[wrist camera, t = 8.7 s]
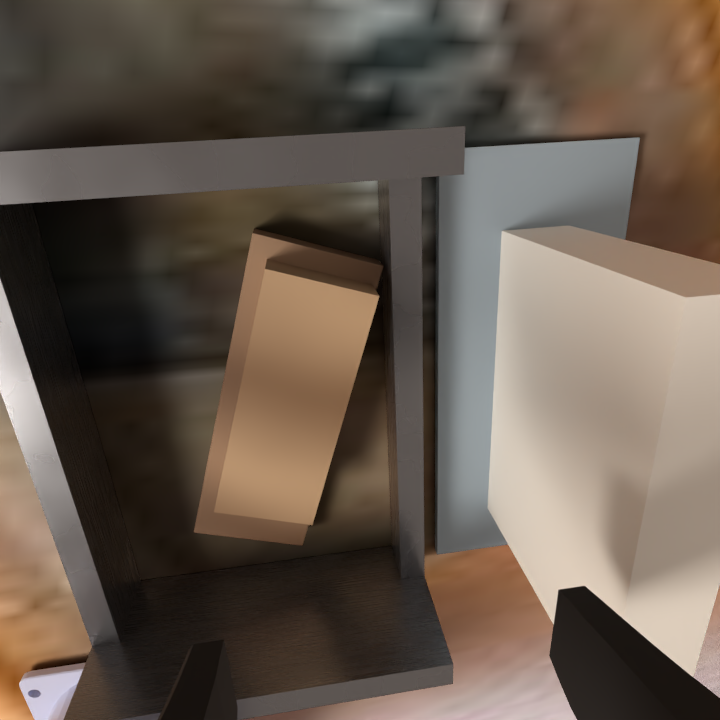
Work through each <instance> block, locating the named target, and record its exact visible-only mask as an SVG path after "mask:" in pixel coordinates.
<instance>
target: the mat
mask: <svg viewBox="0 0 720 720" xmlns="http://www.w3.org/2000/svg"><path fill="white" fill-rule="evenodd" d="M639 141H640V137H638V138H620V139H603V140H587V141H570V142H553V143H537V144H520V145H503V146H486V147H470V148H465V160H464V175H449V176H436V345H435V550H436V552H437V555H438V554H445V553H452V552H459V551H466V550H473V549H480V548H487V547H494V546H501V545H508V543H507V542H506V540H505V538H504V536H503V534H502V533H501V531H500V529H499V527H498V526H497V524H496V522H495V520H494V519H493V517H492V515H491V513H490V511H489V510H488V489H489V470H490V450H491V431H492V411H493V392H494V372H495V353H496V333H497V313H498V294H499V274H500V255H501V235H502V231H504V230H517V229H530V228H543V227H555V226H568V225H570V226H573V227H577V228H581V229H585V230H589V231H593V232H597V233H600V234H604V235H608V236H612V237H616V238H620V239H624V240H625V239H626V232H627V225H628V218H629V211H630V204H631V197H632V190H633V183H634V176H635V169H636V162H637V155H638V148H639Z"/></svg>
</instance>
